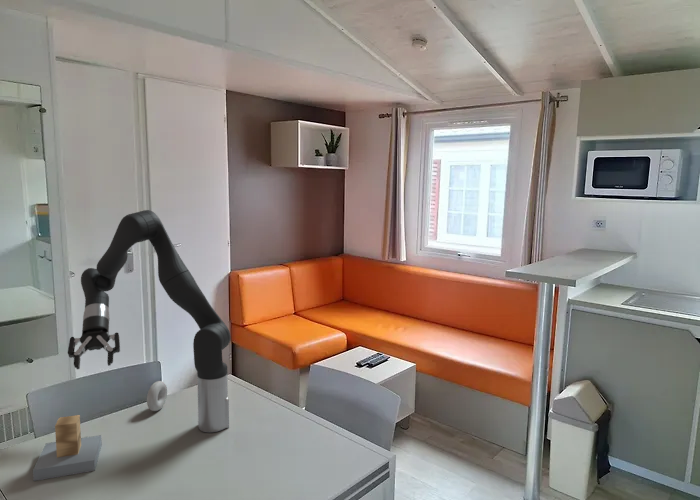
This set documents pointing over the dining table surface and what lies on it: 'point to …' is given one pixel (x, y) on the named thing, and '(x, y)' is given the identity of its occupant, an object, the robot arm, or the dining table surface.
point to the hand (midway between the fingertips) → (93, 366)
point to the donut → (157, 396)
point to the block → (68, 436)
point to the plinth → (68, 460)
